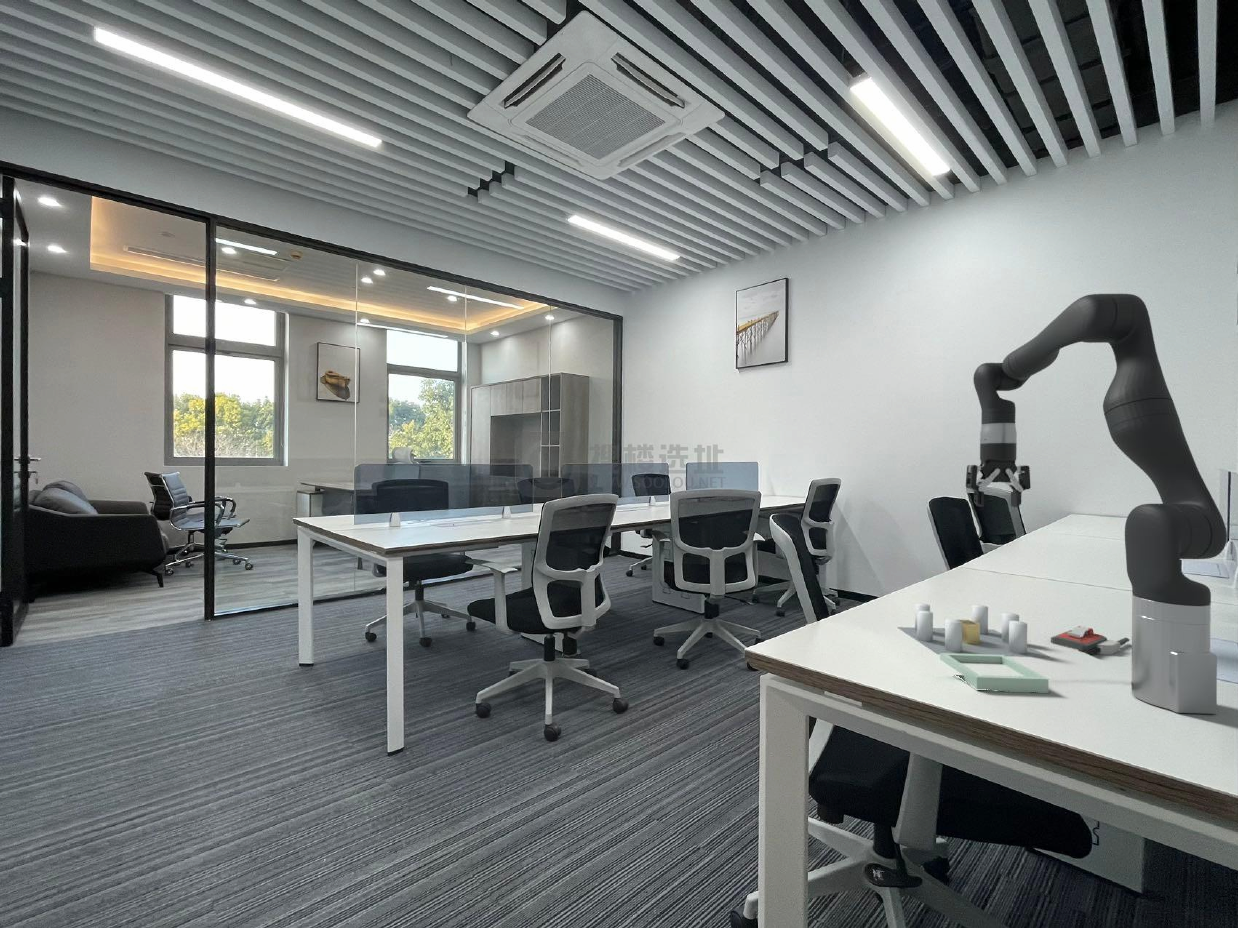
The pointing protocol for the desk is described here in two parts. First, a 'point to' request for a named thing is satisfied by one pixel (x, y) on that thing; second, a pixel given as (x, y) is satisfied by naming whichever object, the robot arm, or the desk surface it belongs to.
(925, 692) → the desk surface
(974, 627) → the khaki cube
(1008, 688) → the tray
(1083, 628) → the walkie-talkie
